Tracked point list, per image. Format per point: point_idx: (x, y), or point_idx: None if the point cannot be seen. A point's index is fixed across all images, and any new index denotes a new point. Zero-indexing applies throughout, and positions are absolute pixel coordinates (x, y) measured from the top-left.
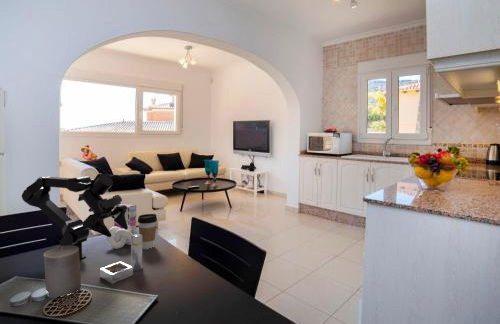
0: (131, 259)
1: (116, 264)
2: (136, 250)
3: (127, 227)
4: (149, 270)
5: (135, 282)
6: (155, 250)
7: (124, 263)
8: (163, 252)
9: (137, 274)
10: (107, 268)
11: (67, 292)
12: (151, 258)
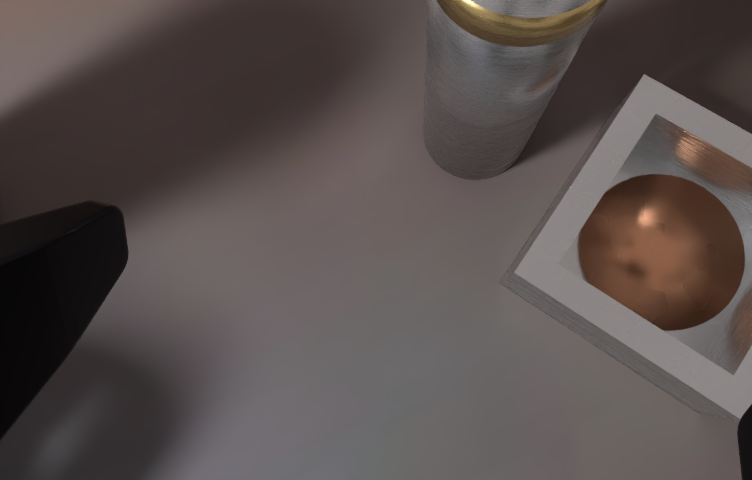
0: (531, 126)
1: (590, 287)
2: None
3: (88, 206)
4: None
5: (745, 35)
6: (34, 114)
7: (569, 200)
8: (90, 20)
9: (593, 78)
10: (689, 350)
11: None
12: (236, 82)
